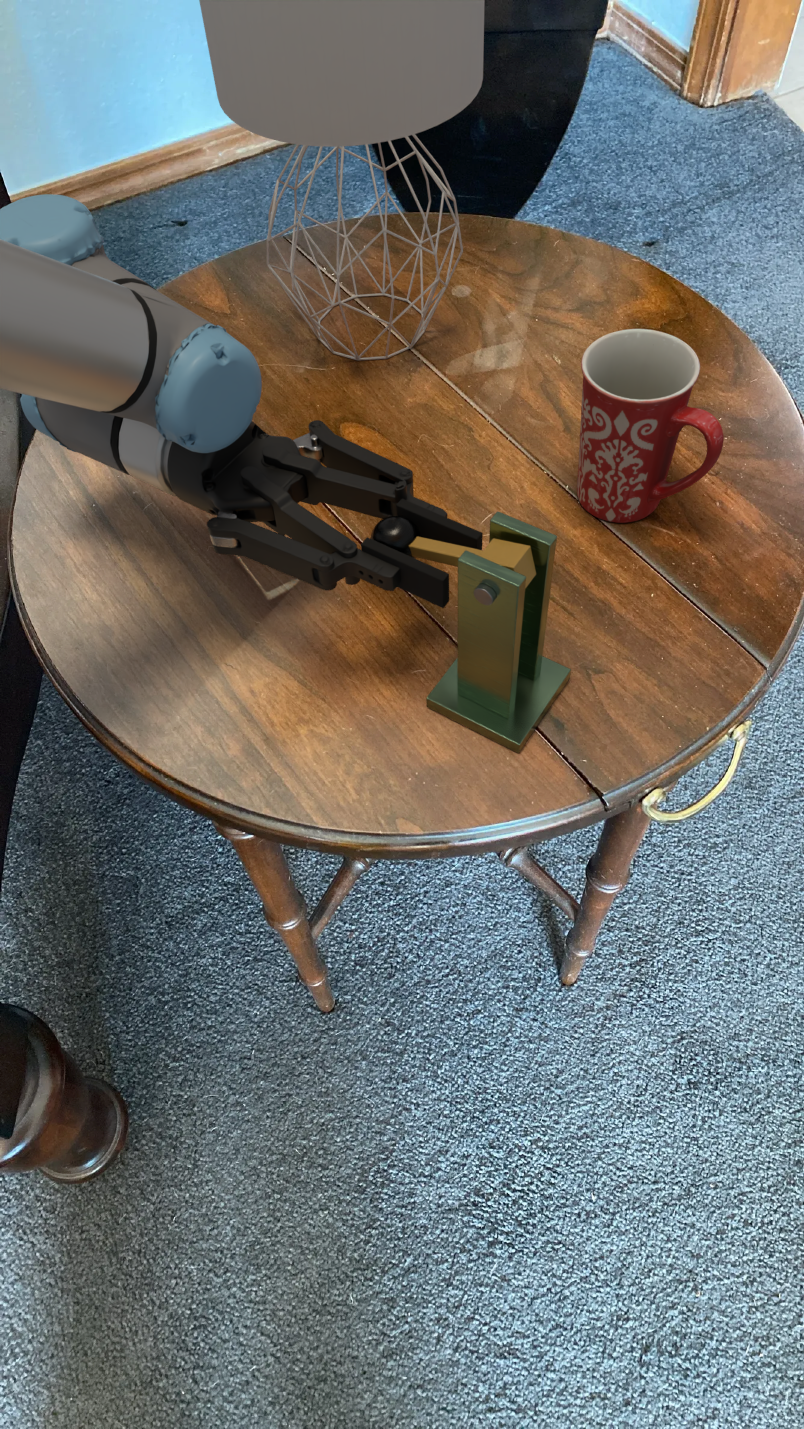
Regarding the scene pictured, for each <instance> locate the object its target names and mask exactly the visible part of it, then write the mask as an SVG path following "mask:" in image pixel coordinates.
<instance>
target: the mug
mask: <svg viewBox="0 0 804 1429" xmlns="http://www.w3.org/2000/svg"><path fill="white" fill-rule="evenodd" d="M580 368H581V373H582V391H581V406H580V428H579V448H578V463H577V464H578V466H577V479H576V494H577V499H578V502H579V503H580V506H582V508H583V509H584V510H585V511H587V512H588V513H589V514H590V515H592V516H593V517H595V518H598V519H600V520H603V521H606V522H610V523H618V524H620V523H621V524H623V523H625V524H627V523H632V522H637V521H640V520H642V519H644V518H647V517H648V516H650V515H651V514H652V513H653V512H654V511H656V509H657V508H658V506H659V504H660V502H661V500H664V499H666V498H668V497H672V496H674V495H677V494H678V493H680V492H682V491H684V490H686V489H688V488H690V487H691V486H693V485H695V484H696V483H698V482H699V481H700V480H701V479H703V478H704V477H705V476H706V475H707V474H708V473H709V472H710V471H711V469H713V467H714V466H715V465H716V463H717V462H718V460H719V458H720V456H721V454H722V451H723V447H724V438H725V437H724V431H723V427H722V425H721V423H720V421H719V420H718V419H717V418H716V416H714V415H713V414H712V413H711V412H709V411H707V410H705V409H703V408H698V407H691V406H688V405H689V403H690V402H689V401H690V399H691V394H692V391H693V388H694V386H695V384H696V383H697V381H698V378H699V377H700V373H701V362H700V359H699V357H698V355H697V353H696V351H695V350H694V349H693V348H692V347H691V346H690V345H689V344H687V343H686V342H685V341H683V340H682V339H681V338H679V337H677V336H675V335H673V334H669V333H667V332H663V331H659V330H654V329H647V328H629V329H621V330H616V331H613V332H610V333H607V334H604V335H603V336H600V337H599V338H596V339H595V340H594V341H592V343H590V344H589V345H588V346H587V348H586V349H585V350H584V352H583V354H582V357H581V361H580ZM687 426H690V427H693V428H695V429H697V430H698V431H699V432H700V433H701V435H703V438H704V440H705V443H706V453H705V458H704V460H703V463H702V464H701V465H700V466H699V467H698V468H697V469H696V470H694V471H693V472H691V473H689V474H687V475H686V476H683V477H682V478H680V479H679V478H678V479H677V480H674V481H667V478H668V474H669V471H670V469H671V468H670V467H671V464H672V460H673V456H674V453H675V452H676V447H677V443H678V439H679V436H680V432H682V430H683V429H684V428H685V427H687Z"/></svg>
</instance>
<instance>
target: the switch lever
mask: <svg viewBox="0 0 804 1429" xmlns="http://www.w3.org/2000/svg"><path fill="white" fill-rule="evenodd" d="M369 538H370V539H372V540H375V541H377V542H379V543H381V544H383V545H386V546H388V547H390V548H392V549H395V550H397V551H399V552H401V553H404V554H406V555H408V556H410V557H412V558H415V559H421V560H426V561H430V562H435V563H439V564H443V565H448V566H451V567H457V568H458V559H459V557H460V556H461V555H462V554H463V553H464V551H465V550H467V551H469V552H471V553H474V554H476V555H478V556H481V557H483V558H485V559H487V560H490V561H492V562H494V563H497V564H499V565H501V566H503V567H506V568H508V569H510V570H513V571H515V572H517V573H520V574H522V575H524V576H526V585H525V589H526V587H527V586H528V585H529V583H530V582H531V581H532V579H533V578H534V577H535V575H536V570H535V565H534V561H533V556H532V551H531V547H530V546H528V545H524V544H519V543H514V542H509V541H504V540H499V539H495V538H493V539H492V540H491V542H490V543H489V542H488V544H487V545H486V547H485V548H484V549H482V550H478V549H474V548H469V547H465V546H460V545H455V544H451V543H446V542H441V541H437V540H432V539H427V538H423V537H421V534H420V532H419V529H418V528H417V526H416V525H415V524H414V523H413V522H412V521H411V520H409V519H407V518H405V517H402V516H390V517H386V518H384V519H382V518H381V520H380V521H378V522H377V523H376V524H375V526H374V527H373V528H372V531H371V532H370V537H369Z"/></svg>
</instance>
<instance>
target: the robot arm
mask: <svg viewBox="0 0 804 1429" xmlns="http://www.w3.org/2000/svg"><path fill="white" fill-rule="evenodd" d="M104 243H105V240H104V237H103V235H101V234H100V232H99V229H98V226H97V225H96V222H95V219H94V217H93V215H92V212H91V211H90V209H89V208H88V207H87V206H86V205H85V204H84V203H82V201H79V200H78V199H76V198H73V197H70V196H67V195H63V194H55V193H53V194H51V193H49V194H37V195H36V194H35V195H29V196H27V197H23V198H20V199H17V200H15V201H13V202H11V203H9V204H7V205H5V206H2V208H0V390H3V391H7V392H13V393H16V394H21V397H20V398H19V402H20V406H21V408H22V412H23V414H24V416H25V418H26V419H27V421H28V423H30V425H31V426H32V427H33V428H34V429H35V430H37V431H38V432H40V433H41V434H43V435H45V436H47V437H49V438H50V439H52V440H53V441H55V442H58V443H59V445H60V446H61V447H64V448H66V449H67V450H68V451H71V452H74V453H78V454H81V455H82V456H85V457H87V458H90V459H92V460H94V461H95V462H98V463H100V464H103V465H105V466H107V467H109V468H112V469H114V470H116V471H119V472H120V473H123V474H124V475H127V476H130V477H133V478H134V479H136V480H137V481H140V482H142V483H144V484H147V485H148V486H151V487H153V488H155V489H157V490H160V491H161V492H164V493H165V494H168V495H171V496H172V497H177V499H179V500H180V501H182V502H183V503H186V504H188V505H191V506H192V507H195V508H197V509H199V510H201V511H203V512H206V513H207V514H209V515H212V516H213V517H210V519H208V520H207V521H206V527H207V530H208V533H209V538H210V541H211V545H212V548H213V551H214V552H215V553H216V554H219V555H228V556H238V557H244V558H246V559H249V560H251V561H253V562H256V563H258V564H260V565H263V566H265V567H268V568H270V569H273V570H275V571H277V572H280V573H282V574H284V575H287V576H289V577H291V578H294V579H296V580H299V581H301V582H303V583H306V584H308V585H311V586H313V587H316V588H318V589H320V590H323V591H327V592H328V591H329V592H331V591H333V590H335V589H336V588H337V586H338V582H340V581H341V580H343V579H345V584H346V585H348V586H355V585H357V584H359V583H360V581H361V580H362V581H364V582H365V583H369V584H370V585H373V586H374V587H378V588H379V589H381V590H384V591H387V592H394V591H395V590H396V589H397V588H398V589H399V590H403V591H404V592H407V593H409V594H411V595H413V596H416V597H417V598H420V599H422V600H424V601H426V602H428V603H431V604H433V605H435V606H437V607H439V608H441V609H445V607H446V606H447V605H448V603H449V602H450V573H448V572H446V571H444V570H441V569H439V568H437V567H434V566H433V565H430V564H428V563H426V562H423V561H421V560H419V559H418V558H416V559H415V558H412V557H410V556H408V555H406V554H404V553H401V552H399V551H397V550H395V549H392V548H390V547H388V546H386V545H383V544H381V543H379V542H377V541H375V540H372V539H370V537H368V536H366V538H365V539H364V540H363V541H362V542H361V543H360V548H358V546H357V545H358V544H357V543H356V542H355V541H354V540H353V539H351V538H349V537H348V536H347V535H345V534H343V533H342V532H340V531H339V530H338V529H336V528H335V527H333V526H331V525H330V524H328V523H327V522H325V521H324V520H323V519H321V518H320V517H318V516H317V515H316V514H314V513H312V512H311V511H309V510H308V509H307V508H305V507H304V506H302V505H301V504H299V503H304V504H308V505H311V506H318V505H319V503H322V504H325V505H329V506H333V507H336V508H337V507H338V508H341V509H344V510H348V511H352V512H356V513H359V514H363V515H366V516H371V517H373V518H374V517H375V518H378V519H381V520H382V519H384V518H386V517H390V516H402V517H405V518H407V519H409V520H411V521H412V522H413V523H414V524H415V525H416V526H417V528H418V529H419V532H420V534H421V537H423V538H427V539H432V540H437V541H441V542H446V543H451V544H455V545H460V546H465V547H469V548H474V549H478V550H483V538H484V537H483V535H484V533H483V532H482V531H480V530H478V529H475V528H473V527H470V526H468V525H466V524H463V523H461V522H458V521H456V520H454V519H452V518H449V517H448V512H447V511H446V510H444V509H443V508H441V507H439V506H436V505H434V504H431V503H430V502H428V501H425V500H422V499H420V498H418V497H415V492H414V472H413V470H411V469H410V468H408V467H406V466H404V465H401V464H399V463H398V462H395V461H393V460H391V459H389V458H388V457H385V456H382V455H380V454H378V453H376V452H374V451H371V450H370V449H367V448H365V447H363V446H362V445H359V444H357V443H355V442H352V441H351V440H348V439H346V438H344V437H342V436H340V435H338V434H336V433H334V432H333V431H332V429H330V428H329V427H328V426H327V424H325V422H323V421H322V420H319V419H316V420H312V421H310V422H309V423H308V432H307V433H306V434H304V435H301V436H299V437H296V438H294V439H292V438H291V437H288V436H284V435H278V436H277V435H271V434H269V433H267V432H266V431H265V430H264V429H262V428H261V427H260V426H259V425H258V424H257V423H255V422H254V421H253V418H254V414H255V413H256V412H257V407H258V406H259V404H260V401H261V397H262V391H263V390H262V387H263V382H262V380H263V379H262V372H261V369H260V366H259V363H258V361H257V359H256V357H255V356H254V354H253V353H252V351H251V350H250V349H249V348H248V347H247V346H245V345H244V344H243V343H241V342H240V341H239V340H237V339H236V338H235V337H233V336H232V335H231V334H229V332H227V329H226V328H225V327H222V326H221V325H219V324H214V323H212V322H210V321H208V320H207V319H205V318H203V317H202V316H200V315H198V314H197V313H195V312H194V311H192V310H190V309H189V308H187V307H185V306H184V305H182V304H180V303H179V302H177V301H175V300H174V299H172V298H170V297H168V296H167V295H165V294H163V293H162V292H160V291H159V290H157V289H156V288H155V287H154V286H152V285H150V284H149V283H148V282H147V281H145V280H143V279H141V278H140V277H138V276H137V275H135V274H133V273H132V272H130V271H129V270H128V269H126V268H124V267H122V266H121V265H119V264H118V263H115V262H114V261H112V260H111V259H110V258H109V257H108V256H107V254H106V251H105V247H104ZM256 523H263V524H264V525H266V526H267V527H268V528H270V529H271V530H270V529H268V528H266V527H263V526H261V525H258V524H256Z"/></svg>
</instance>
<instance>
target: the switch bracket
mask: <svg viewBox="0 0 804 1429" xmlns="http://www.w3.org/2000/svg"><path fill="white" fill-rule="evenodd" d="M488 536H489V538H488V539H489V540H488V544H489V543H490V542H491V540H492V539H493V538H495V539H499V540H504V541H509V542H514V543H519V544H524V545H528V546H530V547H531V551H532V556H533V561H534V565H535V570H536V575H535V577H534V578H533V579H532V581H531V582H530V583H529V585H528V586H527V587H526V589H525V585H526V576H524V575H522V574H520V573H517V572H515V571H513V570H510V569H508V568H506V567H503V566H501V565H499V564H497V563H494V562H492V561H490V560H487V559H485V558H483V557H481V556H478V555H476V554H474V553H471V552H469V551H467V550H465V551H464V553H463V554H462V555H461V556H460V557H459V559H458V567H457V657H456V658H455V660H454V661H453V663H451V665H450V666H449V668H447V670H446V671H445V673H444V674H443V675H442V677H441V678H440V679H439V681H437V683H436V685H435V686H434V687H433V688H432V689H431V691H430V692H429V694H428V695H427V696H426V699H425V700H426V701H425V702H426V707H427V708H428V709H430V710H432V711H434V712H436V713H437V714H440V715H442V716H444V717H446V718H448V719H450V720H451V721H454V722H456V723H458V724H460V725H462V726H464V727H465V728H468V729H469V730H471V731H473V732H476V733H477V734H479V735H480V736H483V737H485V738H487V739H489V740H492V742H494V743H497V744H499V745H500V746H503V747H505V748H507V749H509V750H511V751H513V752H515V753H517V754H520V753H521V751H522V750H523V748H524V747H525V746H526V744H527V742H528V741H529V739H530V738H531V736H532V735H533V733H534V732H535V731H536V729H537V727H538V726H539V725H540V723H541V722H542V720H543V718H544V717H545V716H546V714H547V713H548V711H549V710H550V709H551V707H552V705H553V704H554V703H555V701H556V700H557V698H558V696H559V695H560V693H561V692H562V690H563V689H564V688H565V686H566V684H568V682H569V680H570V678H571V674H572V669H571V668H569V667H568V666H566V665H563V664H561V663H559V662H557V661H555V660H553V659H550V658H548V657H546V656H543V655H544V647H545V640H546V639H545V638H546V630H547V623H548V614H549V606H550V597H551V590H552V581H553V573H554V565H555V557H556V556H555V555H556V549H557V540H558V535H557V534H554V533H551V532H549V531H546V530H544V529H542V528H540V527H537V526H535V525H533V524H530V523H527V522H525V521H522V520H520V519H518V518H515V517H513V516H511V515H509V514H506V513H503V512H501V511H496V512H495V513H494V515H493V516H492V517H491V518H490V519H489V535H488Z"/></svg>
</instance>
